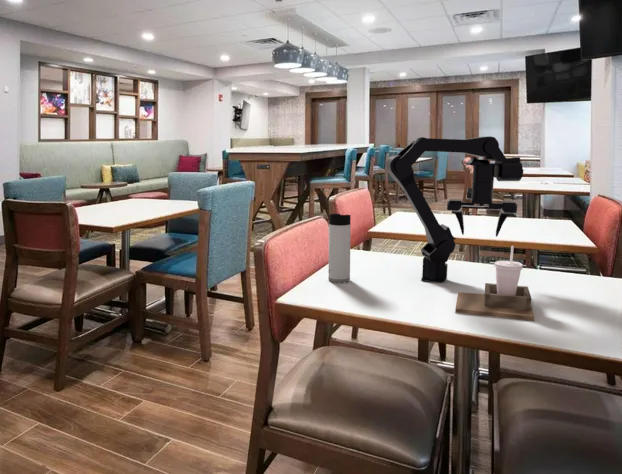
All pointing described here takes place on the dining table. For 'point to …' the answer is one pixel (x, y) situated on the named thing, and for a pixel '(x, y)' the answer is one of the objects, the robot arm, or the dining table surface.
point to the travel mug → (339, 248)
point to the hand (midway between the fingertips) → (479, 235)
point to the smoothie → (507, 275)
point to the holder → (496, 303)
